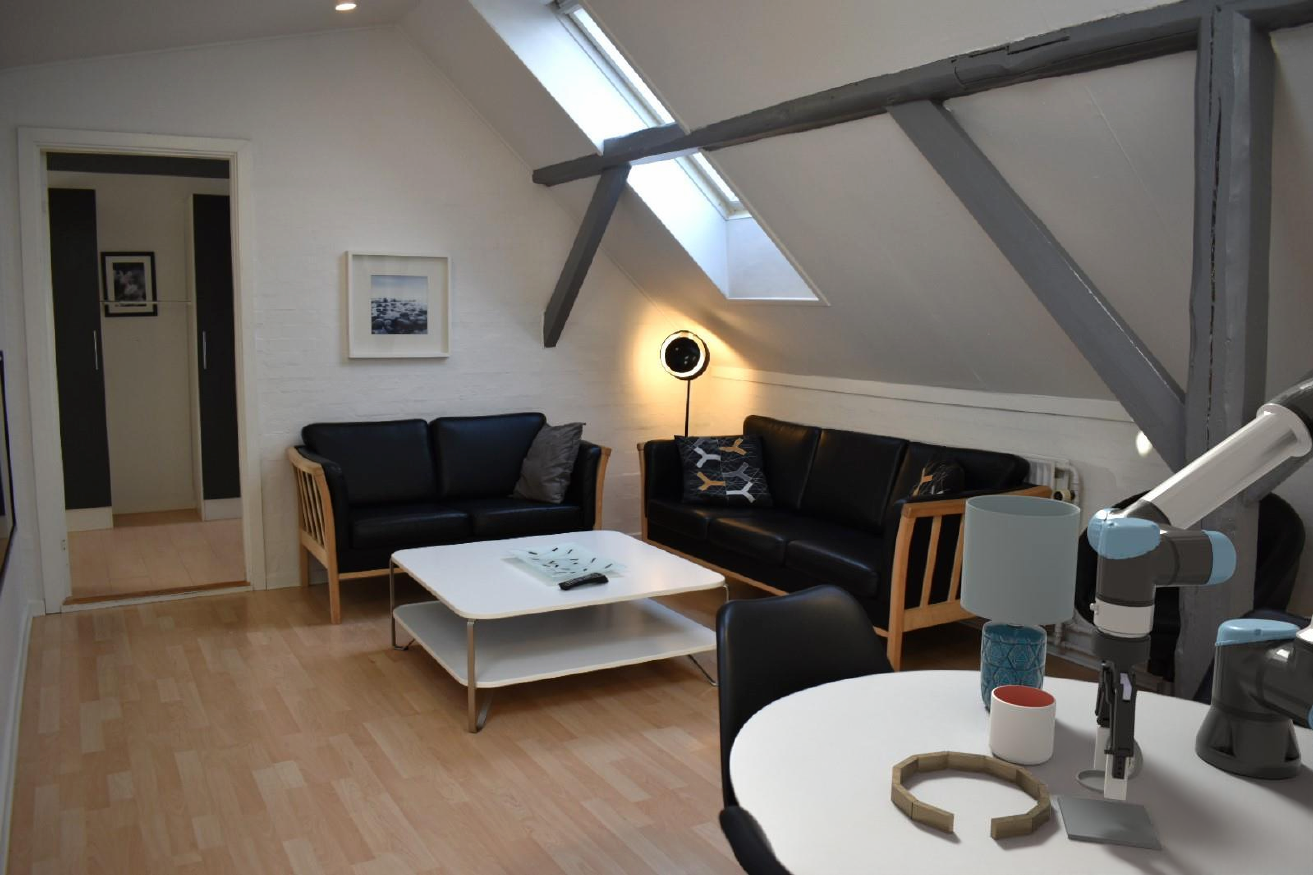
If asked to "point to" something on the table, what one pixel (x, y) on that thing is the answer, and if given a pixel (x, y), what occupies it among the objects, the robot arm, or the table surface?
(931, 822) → the c ring
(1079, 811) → the coaster
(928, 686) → the table surface
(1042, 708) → the cup
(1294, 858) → the table surface
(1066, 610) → the lamp
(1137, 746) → the pocket watch
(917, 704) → the table surface
